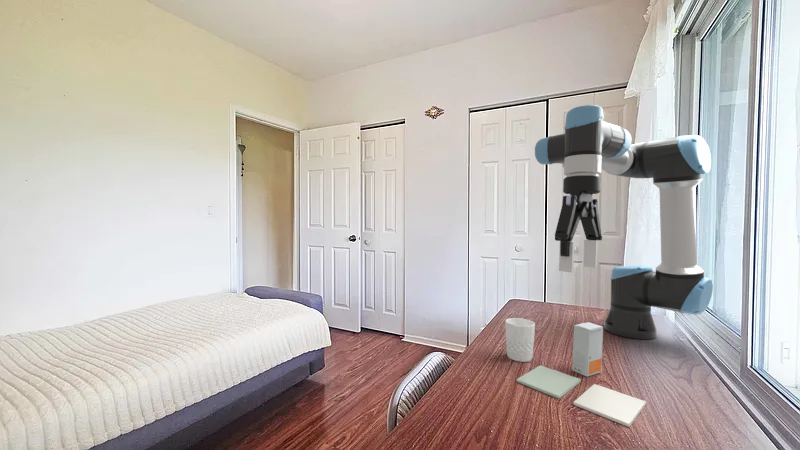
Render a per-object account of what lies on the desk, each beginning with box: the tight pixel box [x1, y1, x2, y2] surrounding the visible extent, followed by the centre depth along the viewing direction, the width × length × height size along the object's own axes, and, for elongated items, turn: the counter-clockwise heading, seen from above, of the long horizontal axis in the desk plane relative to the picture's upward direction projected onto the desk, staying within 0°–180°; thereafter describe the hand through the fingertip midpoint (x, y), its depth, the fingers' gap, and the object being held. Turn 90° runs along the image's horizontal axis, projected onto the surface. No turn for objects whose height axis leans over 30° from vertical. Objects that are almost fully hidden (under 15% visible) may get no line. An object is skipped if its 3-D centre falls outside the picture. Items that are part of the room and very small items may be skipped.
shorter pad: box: [516, 364, 582, 400], centre depth 81 cm, size 12×10×1 cm
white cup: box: [504, 317, 536, 363], centre depth 95 cm, size 8×8×10 cm
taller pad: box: [573, 383, 647, 428], centre depth 71 cm, size 12×10×1 cm
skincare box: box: [571, 321, 604, 378], centre depth 87 cm, size 6×4×12 cm
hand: (578, 269), depth 77 cm, fingers open, 13 cm apart
